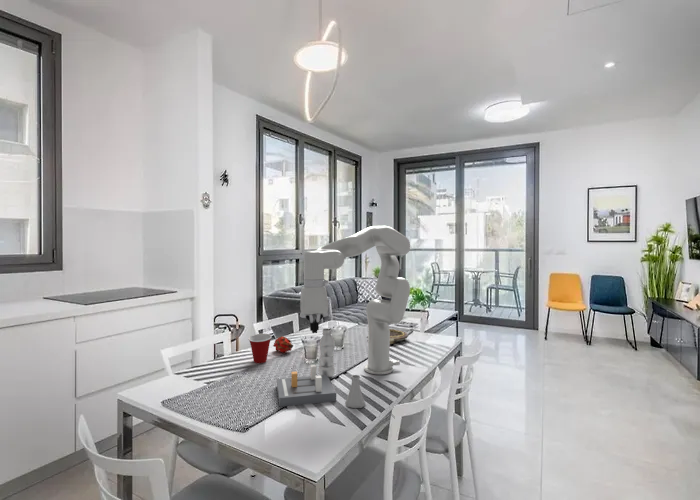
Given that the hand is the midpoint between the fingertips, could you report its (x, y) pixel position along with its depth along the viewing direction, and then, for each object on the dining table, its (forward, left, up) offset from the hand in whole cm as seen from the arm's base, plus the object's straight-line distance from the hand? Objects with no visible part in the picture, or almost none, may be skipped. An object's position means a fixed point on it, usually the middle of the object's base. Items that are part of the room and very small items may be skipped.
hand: (314, 332), depth 140 cm
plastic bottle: (-8, -15, -23) cm, 29 cm away
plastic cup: (+19, -41, -23) cm, 51 cm away
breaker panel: (+3, 0, -23) cm, 23 cm away
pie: (-55, -65, -24) cm, 88 cm away
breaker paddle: (+7, 0, -20) cm, 21 cm away
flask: (-13, +13, -23) cm, 30 cm away
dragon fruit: (+7, -54, -23) cm, 59 cm away
